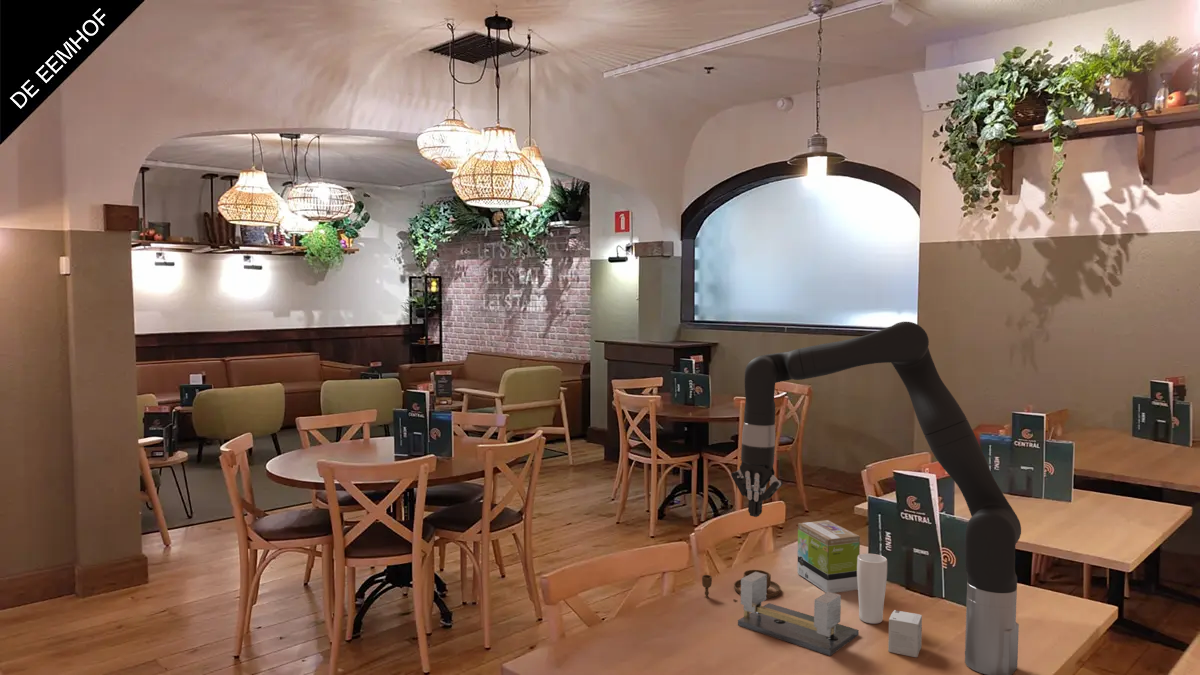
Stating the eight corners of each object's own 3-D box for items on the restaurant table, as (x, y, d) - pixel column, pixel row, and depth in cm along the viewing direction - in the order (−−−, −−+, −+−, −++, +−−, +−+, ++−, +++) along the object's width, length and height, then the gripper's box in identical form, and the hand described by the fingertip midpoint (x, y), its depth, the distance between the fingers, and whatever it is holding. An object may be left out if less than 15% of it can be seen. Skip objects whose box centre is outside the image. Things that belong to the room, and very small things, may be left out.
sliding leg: (766, 614, 187) (766, 574, 186) (751, 622, 182) (752, 581, 182) (755, 610, 189) (755, 571, 188) (740, 618, 184) (741, 578, 184)
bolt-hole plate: (858, 635, 179) (858, 629, 179) (830, 655, 169) (830, 650, 169) (768, 607, 195) (769, 602, 195) (737, 625, 184) (737, 620, 184)
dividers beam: (839, 639, 174) (840, 595, 174) (826, 648, 170) (827, 603, 169) (753, 611, 189) (753, 571, 189) (738, 619, 185) (739, 578, 184)
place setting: (781, 607, 196) (782, 584, 196) (700, 601, 200) (700, 578, 200) (778, 582, 214) (779, 560, 213) (704, 577, 217) (704, 556, 217)
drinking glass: (887, 627, 184) (889, 563, 183) (857, 624, 185) (858, 561, 184) (883, 615, 190) (885, 554, 189) (854, 613, 192) (855, 552, 191)
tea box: (795, 574, 218) (796, 521, 217) (827, 571, 221) (828, 518, 220) (827, 594, 204) (828, 538, 203) (860, 590, 207) (861, 534, 206)
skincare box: (917, 658, 168) (918, 624, 168) (887, 652, 171) (888, 618, 171) (921, 647, 173) (922, 614, 173) (892, 641, 176) (893, 609, 176)
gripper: (792, 445, 181) (788, 519, 183) (742, 435, 190) (739, 506, 191) (775, 449, 176) (771, 525, 177) (725, 439, 185) (721, 512, 186)
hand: (754, 515), depth 184 cm, fingers closed
